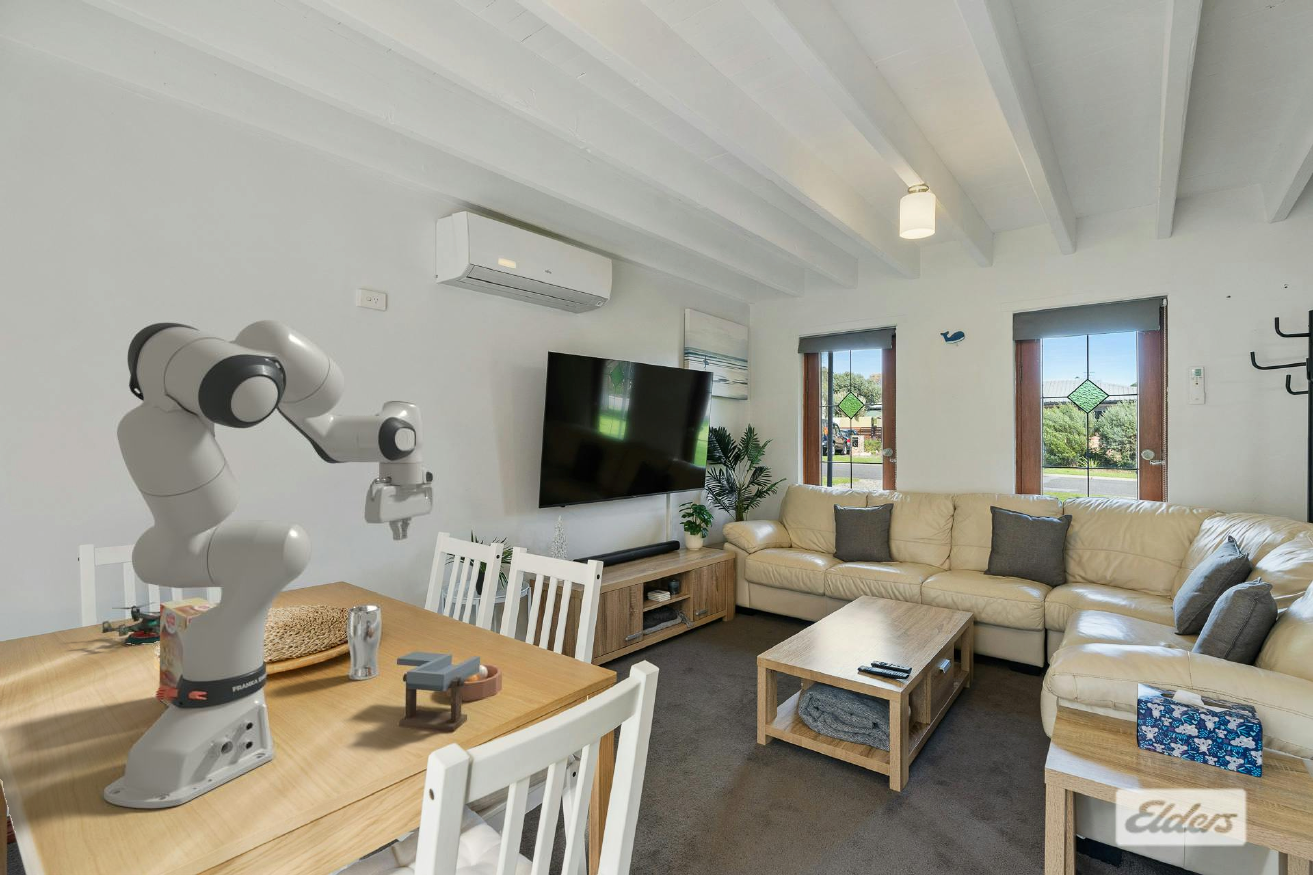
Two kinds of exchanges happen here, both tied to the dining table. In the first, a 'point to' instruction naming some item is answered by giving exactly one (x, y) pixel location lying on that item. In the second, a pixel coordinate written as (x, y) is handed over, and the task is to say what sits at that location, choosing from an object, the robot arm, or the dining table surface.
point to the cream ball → (482, 673)
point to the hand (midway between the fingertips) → (400, 539)
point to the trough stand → (433, 718)
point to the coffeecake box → (176, 637)
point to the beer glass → (364, 640)
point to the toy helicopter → (138, 627)
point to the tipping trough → (436, 670)
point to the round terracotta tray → (482, 685)
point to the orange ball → (471, 678)
